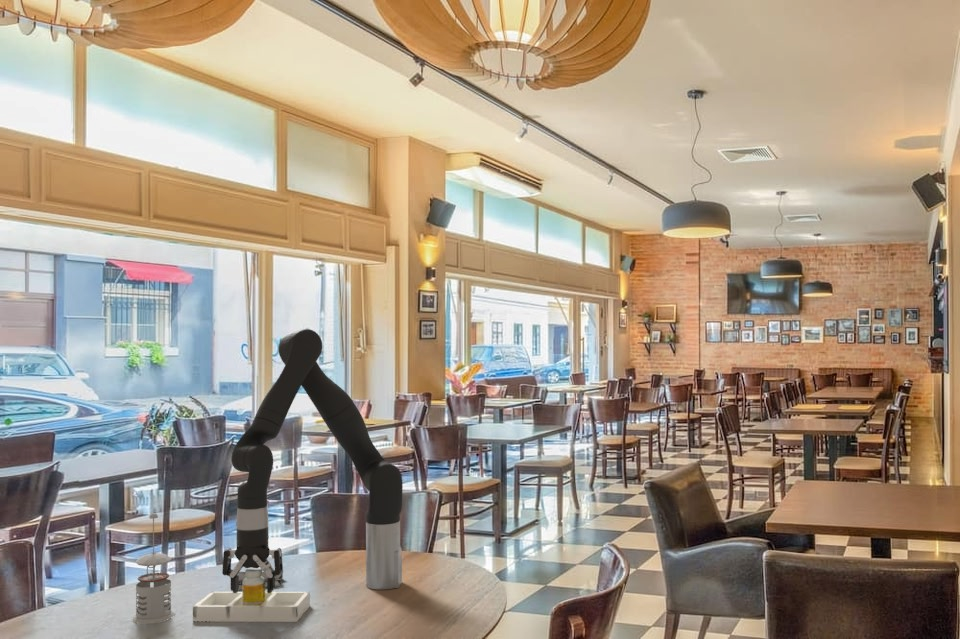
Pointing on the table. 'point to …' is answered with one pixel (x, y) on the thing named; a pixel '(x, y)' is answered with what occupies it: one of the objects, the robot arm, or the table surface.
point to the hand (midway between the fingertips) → (252, 592)
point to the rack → (251, 607)
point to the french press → (153, 589)
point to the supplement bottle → (253, 587)
